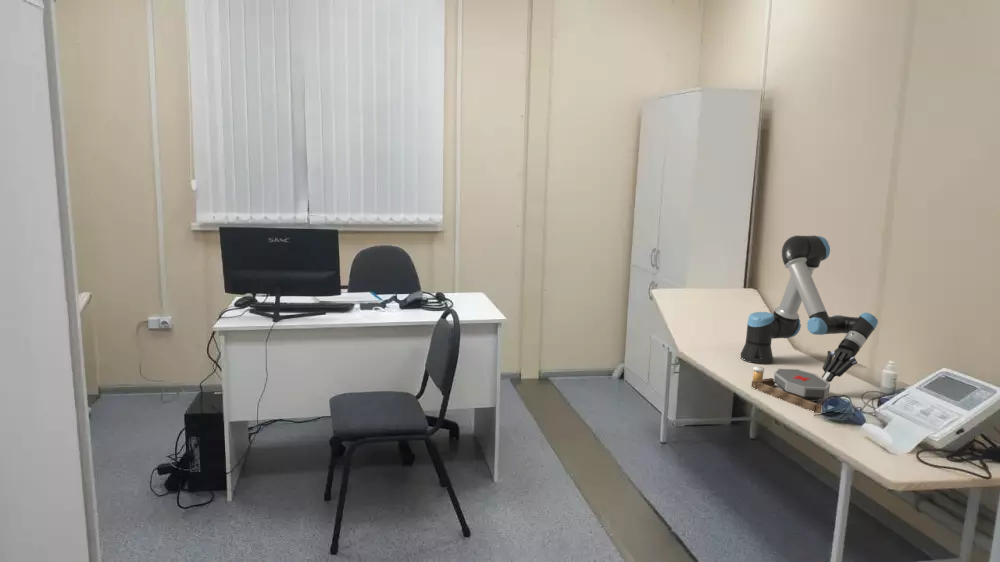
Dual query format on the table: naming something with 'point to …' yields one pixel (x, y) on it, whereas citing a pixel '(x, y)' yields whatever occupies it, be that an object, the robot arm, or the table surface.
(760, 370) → the pill bottle
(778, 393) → the brown piece
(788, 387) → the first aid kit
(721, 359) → the table surface
